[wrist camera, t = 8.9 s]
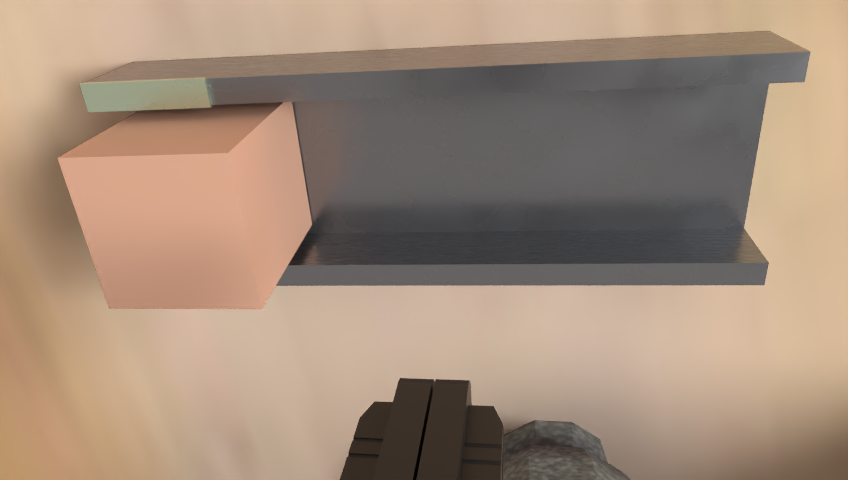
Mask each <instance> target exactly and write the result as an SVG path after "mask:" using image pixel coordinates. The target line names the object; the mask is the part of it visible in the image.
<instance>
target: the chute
mask: <svg viewBox="0 0 848 480" xmlns="http://www.w3.org/2000/svg"><path fill="white" fill-rule="evenodd" d="M809 56H810V51H808V50H806V49H804V48H802V47H800V46H798V45H796V44H794V43H792V42H790V41H788V40H786V39H784V38H782V37H780V36H778V35H776V34H774V33H772V32H770V31H759V32H739V33H718V34H698V35H677V36H657V37H636V38H615V39H595V40H574V41H554V42H533V43H513V44H492V45H472V46H451V47H431V48H410V49H390V50H369V51H349V52H328V53H308V54H287V55H267V56H246V57H226V58H205V59H184V60H164V61H143V62H132V63H129V64H127V65H125V66H123V67H120V68H118V69H116V70H114V71H111V72H109V73H107V74H104V75H102V76H100V77H98V78H95V79H93V80H91V81H88V82H86V83H81V84H79V85H80V88H81V91H82V94H83V98H84V101H85V104H86V107H87V110H88V112H111V111H136V112H138V111H139V110H163V109H190V108H211V107H213V105H223V104H249V103H274V102H292V105H293V111H294V117H295V123H296V129H297V135H298V141H299V147H300V154H301V160H302V166H303V172H304V178H305V184H306V190H307V196H308V202H309V209H310V215H311V221H312V226H311V227H310V229H309V231H308V232H307V234H306V236H305V237H304V239H303V241H302V242H301V244H300V246H299V247H298V249H297V251H296V253H295V254H294V256H293V258H292V259H291V261H290V263H289V264H288V266H287V268H286V269H285V271H284V273H283V274H282V276H281V278H280V279H279V281H278V283H277V284H276V286H318V285H764V284H765V279H766V274H767V269H768V264H769V263H768V261H767V260H766V258H765V257H764V256H763V254H762V253H761V252H760V250H759V249H758V247H757V246H756V245H755V243H754V242H753V240H752V239H751V238H750V236H749V235H748V233H747V232H746V231H745V229H744V224H745V218H746V212H747V207H748V201H749V195H750V189H751V183H752V178H753V172H754V166H755V160H756V154H757V149H758V143H759V137H760V131H761V125H762V120H763V114H764V108H765V102H766V97H767V91H768V85H769V83H788V82H804V81H805V76H806V71H807V66H808V61H809Z"/></svg>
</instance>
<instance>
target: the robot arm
mask: <svg viewBox="0 0 848 480" xmlns="http://www.w3.org/2000/svg"><path fill="white" fill-rule="evenodd" d="M340 480H504V465H503V424H502V422H501V420H500V418H499V416H498V414H497V412H496V410H495V408H494V406H473V405H472V404H471V384H470V381H467V380H439V379H436V381H434V379H407V378H400V380H399V382H398V385H397V389H396V393H395V397H394V400H393V402H374V403H373V404H372V405H371V406H370V407H369V408H368V410H367V411H366V412H365V413H364V414H363V415H362V416H361V417H360V419H359V422H358V425H357V428H356V431H355V435H354V440H353V441H352V444H351V447H350V450H349V456H348V457H347V459H346V462H345V466H344V469H343V472H342V475H341V478H340Z"/></svg>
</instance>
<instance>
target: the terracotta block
mask: <svg viewBox="0 0 848 480" xmlns="http://www.w3.org/2000/svg"><path fill="white" fill-rule="evenodd" d="M58 161H59V164H60V167H61V170H62V173H63V176H64V179H65V182H66V185H67V188H68V190H69V193H70V196H71V199H72V202H73V205H74V208H75V211H76V214H77V217H78V220H79V222H80V225H81V228H82V231H83V234H84V237H85V240H86V243H87V246H88V249H89V251H90V254H91V257H92V260H93V263H94V266H95V269H96V272H97V275H98V278H99V281H100V283H101V286H102V289H103V292H104V295H105V298H106V301H107V304H108V307H109V308H116V309H262V308H263V306H264V305H265V303H266V301H267V300H268V298H269V296H270V295H271V293H272V291H273V290H274V288H275V286H276V284H277V283H278V281H279V279H280V278H281V276H282V274H283V273H284V271H285V269H286V268H287V266H288V264H289V263H290V261H291V259H292V258H293V256H294V254H295V253H296V251H297V249H298V247H299V246H300V244H301V242H302V241H303V239H304V237H305V236H306V234H307V232H308V231H309V229H310V227H311V226H312V221H311V215H310V209H309V202H308V196H307V190H306V184H305V178H304V172H303V166H302V160H301V154H300V147H299V141H298V135H297V129H296V123H295V117H294V111H293V105H292V102H274V103H249V104H223V105H213V107H211V108H190V109H163V110H139V111H138V112H136V113H134V114H132V115H131V116H129V117H127V118H126V119H124V120H122V121H120V122H119V123H117V124H115V125H113V126H112V127H110V128H108V129H107V130H105V131H103V132H101V133H100V134H98V135H96V136H94V137H93V138H91V139H89V140H88V141H86V142H84V143H82V144H81V145H79V146H77V147H75V148H74V149H72V150H70V151H69V152H67V153H65V154H63V155H62V156H60V157H58Z"/></svg>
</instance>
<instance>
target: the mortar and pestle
mask: <svg viewBox="0 0 848 480" xmlns="http://www.w3.org/2000/svg"><path fill="white" fill-rule="evenodd" d="M503 465H504V480H630V479H629V478H628V477H627V476H626V475H625V474H624V473H623V472H621V471H620V470H618V469H616V468H615V467H613V466H612V465H610V464H608V463H607V460H606V457H605V454H604V451H603V448H602V445H601V442H600V439H598V438H596V437H595V436H593V435H592V434H590V433H588V432H587V431H585V430H583V429H582V428H580V427H578V426H577V425H575V424H574V423H572V422H555V421H533V422H531V423H529V424H527V425H525V426H523V427H521V428H519V429H517V430H514V431H512V432H510V433H508V434H506V435H505V436H504V439H503Z"/></svg>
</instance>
